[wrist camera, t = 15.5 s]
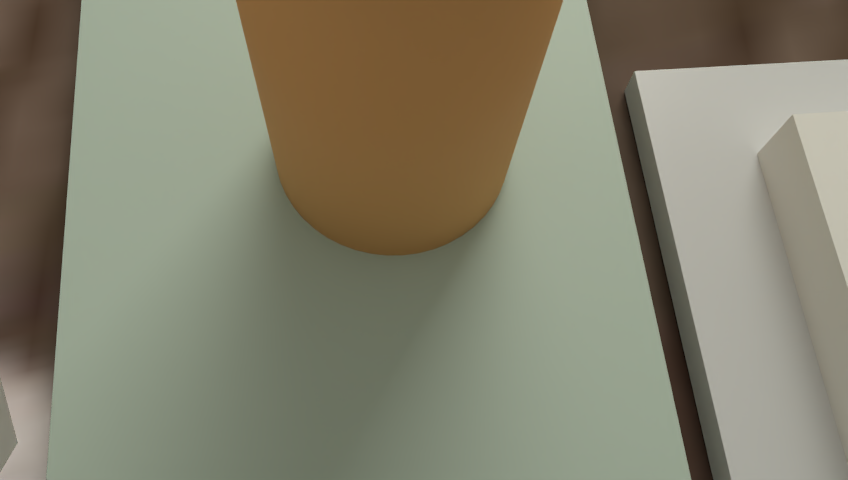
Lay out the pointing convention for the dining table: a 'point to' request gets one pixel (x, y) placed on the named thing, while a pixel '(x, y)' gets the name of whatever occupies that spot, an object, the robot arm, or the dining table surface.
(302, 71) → the orange plug
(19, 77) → the dining table surface
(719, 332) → the base
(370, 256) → the sage board
